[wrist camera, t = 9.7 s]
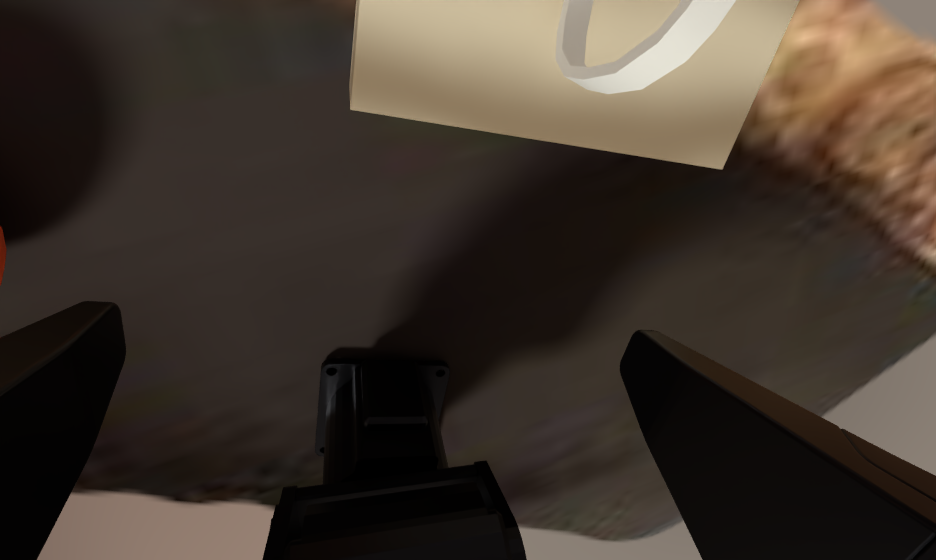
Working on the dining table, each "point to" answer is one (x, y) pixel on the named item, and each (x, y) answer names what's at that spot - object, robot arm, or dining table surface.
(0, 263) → the clementine
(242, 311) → the dining table surface
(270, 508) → the dining table surface
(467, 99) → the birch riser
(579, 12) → the cup
